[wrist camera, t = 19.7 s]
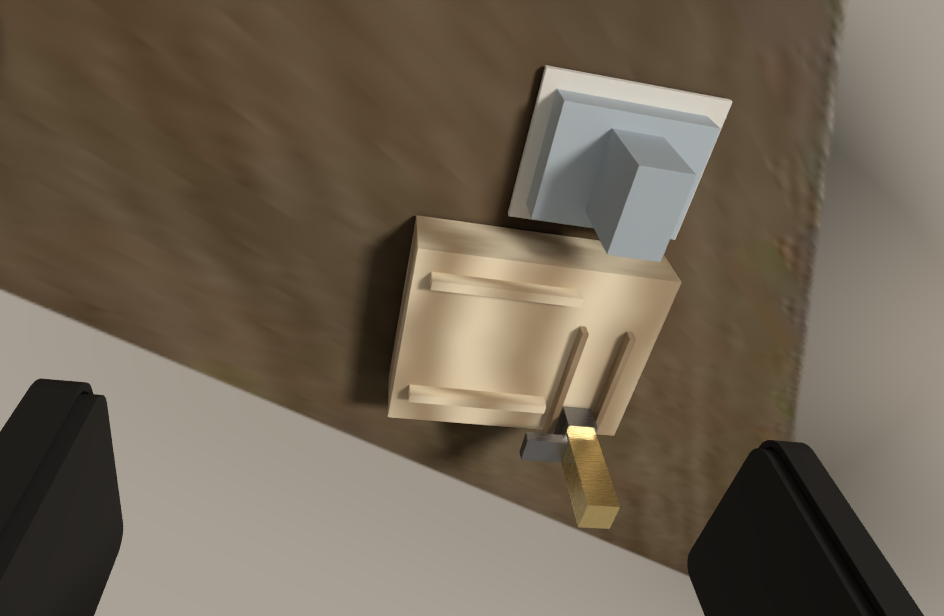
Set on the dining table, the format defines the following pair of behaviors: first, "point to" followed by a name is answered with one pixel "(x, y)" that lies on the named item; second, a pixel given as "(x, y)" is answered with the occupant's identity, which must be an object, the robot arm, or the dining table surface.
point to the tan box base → (522, 327)
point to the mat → (608, 89)
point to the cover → (620, 170)
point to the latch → (578, 465)
